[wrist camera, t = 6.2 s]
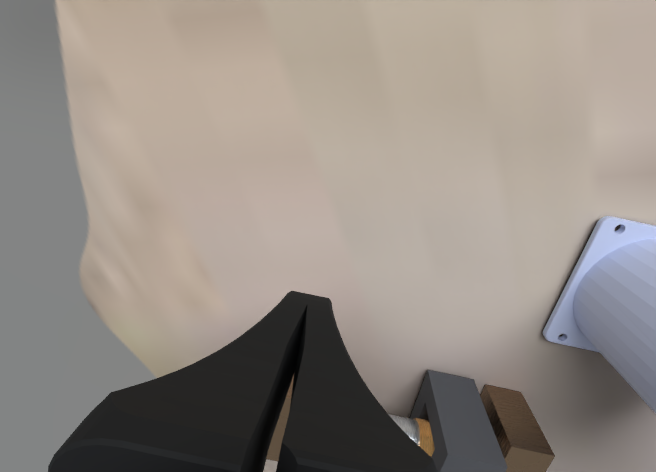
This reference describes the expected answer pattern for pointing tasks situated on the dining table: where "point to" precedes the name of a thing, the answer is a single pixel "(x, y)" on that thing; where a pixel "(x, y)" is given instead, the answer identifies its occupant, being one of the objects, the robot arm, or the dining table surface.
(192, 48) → the dining table surface
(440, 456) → the gray square nut
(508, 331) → the dining table surface
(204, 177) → the dining table surface
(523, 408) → the brown dumbbell
